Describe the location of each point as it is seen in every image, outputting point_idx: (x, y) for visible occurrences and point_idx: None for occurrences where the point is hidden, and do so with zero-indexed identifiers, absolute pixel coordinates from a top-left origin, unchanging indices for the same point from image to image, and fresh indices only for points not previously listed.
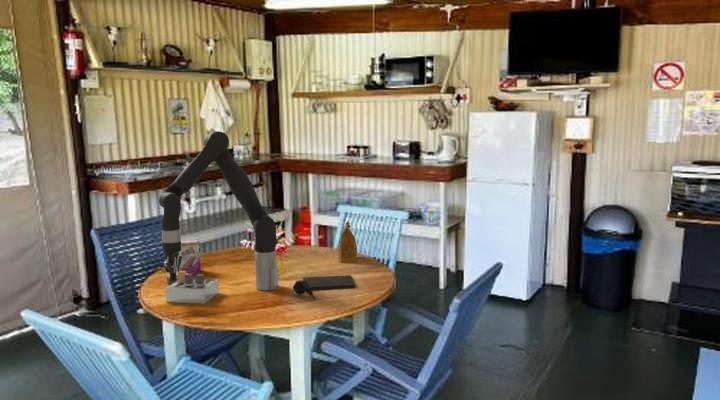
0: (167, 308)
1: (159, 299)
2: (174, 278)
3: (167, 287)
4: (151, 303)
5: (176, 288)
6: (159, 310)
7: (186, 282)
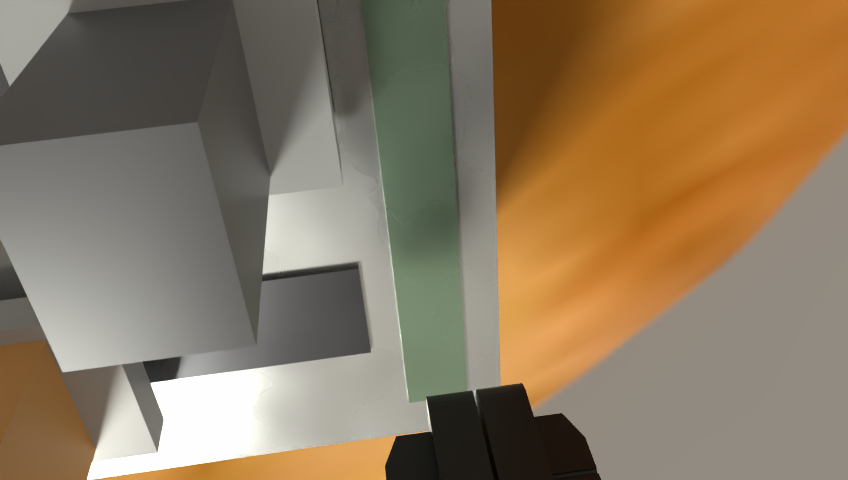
0: (747, 67)
1: None
2: (538, 444)
3: None
4: (540, 380)
5: (490, 229)
6: (832, 127)
7: (258, 155)
